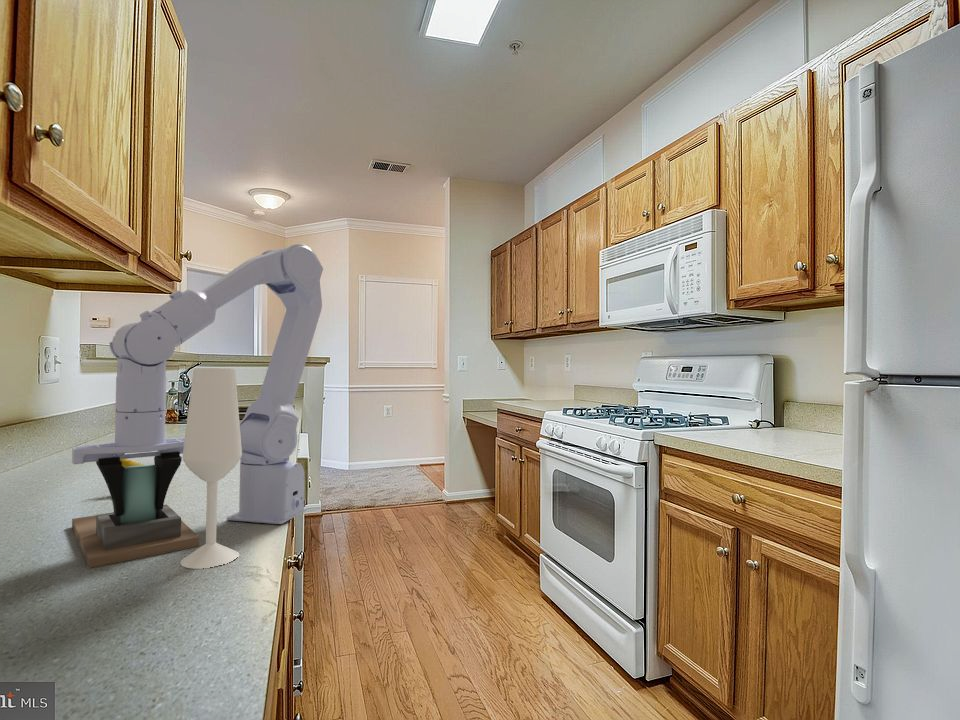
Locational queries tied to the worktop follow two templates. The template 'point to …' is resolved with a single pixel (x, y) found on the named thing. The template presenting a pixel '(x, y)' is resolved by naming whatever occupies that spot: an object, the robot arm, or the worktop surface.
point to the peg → (139, 494)
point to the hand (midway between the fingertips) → (138, 511)
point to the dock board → (131, 537)
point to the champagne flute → (212, 450)
